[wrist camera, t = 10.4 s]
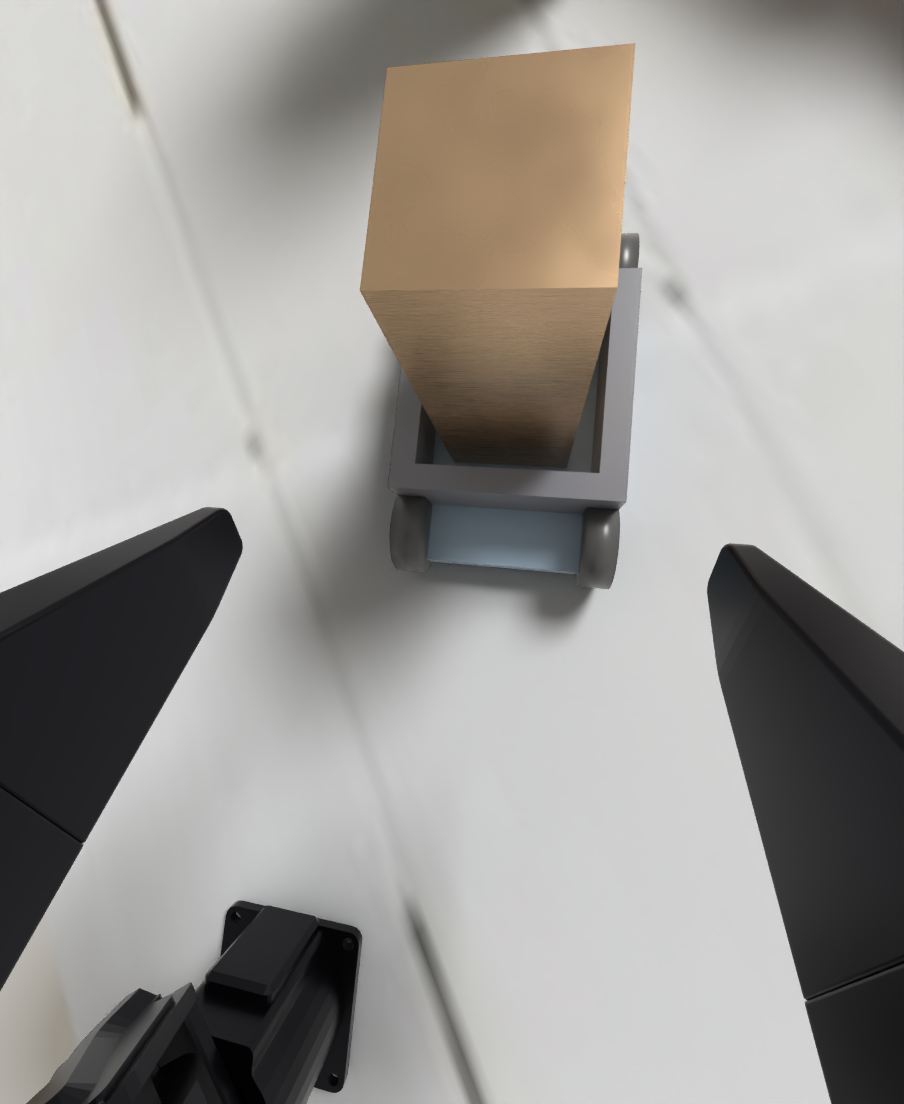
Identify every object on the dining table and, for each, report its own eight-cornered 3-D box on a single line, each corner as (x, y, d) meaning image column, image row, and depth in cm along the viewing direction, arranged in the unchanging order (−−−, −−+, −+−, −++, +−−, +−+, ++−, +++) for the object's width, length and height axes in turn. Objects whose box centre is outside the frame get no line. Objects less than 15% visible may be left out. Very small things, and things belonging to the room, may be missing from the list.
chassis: (601, 590, 21) (620, 587, 17) (408, 572, 23) (378, 565, 18) (624, 272, 22) (647, 192, 18) (440, 275, 24) (419, 202, 20)
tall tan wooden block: (566, 468, 20) (617, 287, 9) (453, 462, 21) (359, 290, 9) (575, 358, 21) (635, 43, 9) (464, 356, 22) (387, 66, 10)
